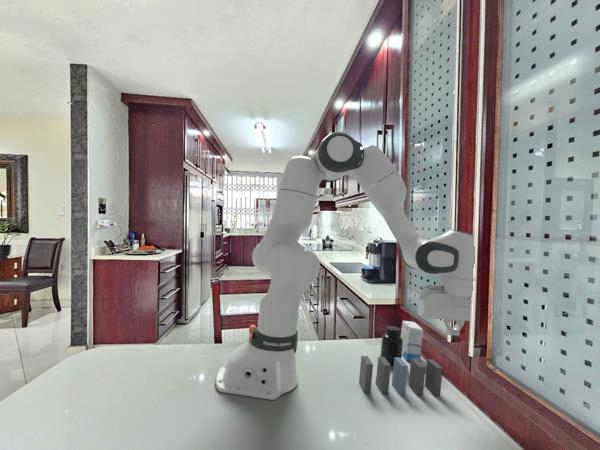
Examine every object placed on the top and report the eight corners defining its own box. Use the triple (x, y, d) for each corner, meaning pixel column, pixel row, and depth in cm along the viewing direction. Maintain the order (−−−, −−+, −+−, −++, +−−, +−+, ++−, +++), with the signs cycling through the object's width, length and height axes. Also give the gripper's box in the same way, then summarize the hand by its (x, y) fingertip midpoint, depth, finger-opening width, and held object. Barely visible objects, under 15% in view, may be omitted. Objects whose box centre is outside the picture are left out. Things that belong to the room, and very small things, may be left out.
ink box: (421, 362, 102) (424, 329, 101) (406, 361, 102) (409, 327, 102) (412, 352, 110) (414, 321, 110) (398, 350, 110) (401, 319, 110)
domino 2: (381, 393, 80) (384, 365, 80) (375, 383, 85) (378, 356, 85) (388, 394, 80) (390, 365, 80) (381, 384, 85) (384, 356, 85)
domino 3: (399, 394, 81) (401, 365, 80) (391, 384, 86) (394, 357, 85) (405, 394, 81) (407, 366, 81) (397, 384, 86) (400, 357, 86)
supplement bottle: (402, 369, 95) (405, 333, 95) (380, 365, 97) (383, 329, 97) (399, 360, 102) (402, 326, 102) (379, 356, 103) (382, 323, 103)
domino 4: (416, 395, 81) (419, 366, 81) (408, 385, 86) (411, 358, 86) (422, 395, 81) (425, 367, 81) (414, 385, 86) (416, 358, 86)
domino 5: (433, 396, 81) (436, 367, 81) (424, 386, 86) (427, 359, 86) (440, 396, 81) (442, 368, 81) (430, 386, 86) (433, 359, 86)
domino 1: (364, 393, 80) (366, 364, 80) (358, 383, 85) (361, 355, 85) (370, 393, 80) (373, 364, 80) (364, 383, 85) (367, 356, 85)
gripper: (428, 287, 80) (423, 336, 80) (497, 291, 82) (493, 340, 82) (417, 282, 86) (412, 328, 86) (481, 286, 88) (477, 332, 88)
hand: (452, 334), depth 84 cm, fingers closed
